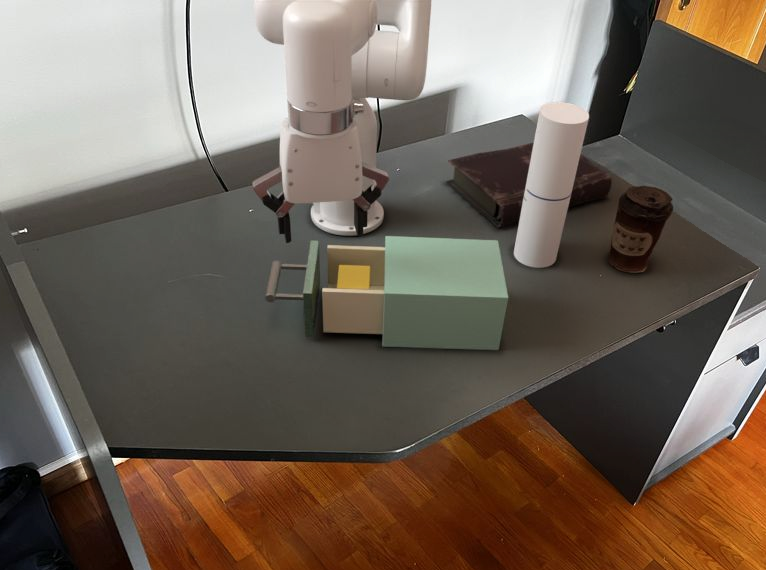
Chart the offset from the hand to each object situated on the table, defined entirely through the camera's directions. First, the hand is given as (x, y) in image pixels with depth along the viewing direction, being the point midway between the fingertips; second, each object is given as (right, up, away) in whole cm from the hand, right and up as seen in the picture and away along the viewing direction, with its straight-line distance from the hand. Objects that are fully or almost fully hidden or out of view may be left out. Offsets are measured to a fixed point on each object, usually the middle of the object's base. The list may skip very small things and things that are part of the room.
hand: (323, 234), depth 100 cm
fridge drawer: (+2, -10, +9) cm, 13 cm away
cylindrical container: (+32, 0, +24) cm, 40 cm away
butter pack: (+3, -9, +8) cm, 13 cm away
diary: (+33, +14, +40) cm, 53 cm away
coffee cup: (+48, -1, +24) cm, 54 cm away
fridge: (+16, -11, +10) cm, 22 cm away
